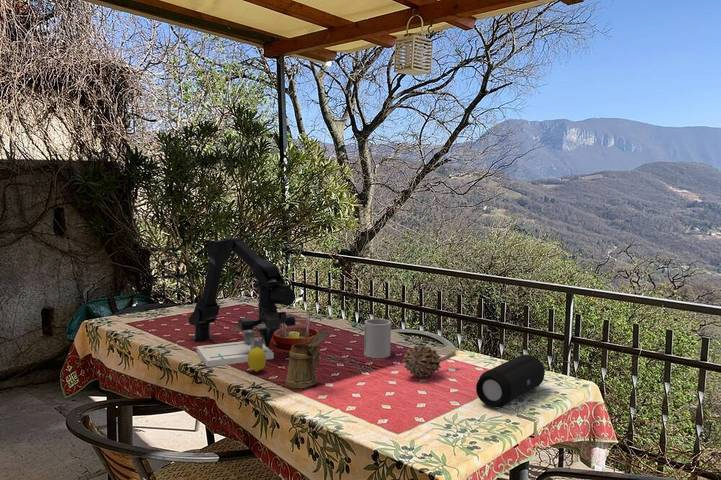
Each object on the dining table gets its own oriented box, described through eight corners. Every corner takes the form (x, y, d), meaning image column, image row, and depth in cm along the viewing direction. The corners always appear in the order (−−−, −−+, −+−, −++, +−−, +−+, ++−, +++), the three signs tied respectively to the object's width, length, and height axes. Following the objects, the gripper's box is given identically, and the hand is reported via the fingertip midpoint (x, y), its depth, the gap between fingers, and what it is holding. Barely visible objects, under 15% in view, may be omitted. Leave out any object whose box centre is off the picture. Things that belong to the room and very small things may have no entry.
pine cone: (419, 386, 155) (420, 353, 155) (395, 377, 162) (396, 345, 162) (464, 370, 170) (465, 340, 169) (441, 363, 177) (441, 334, 176)
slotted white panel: (196, 352, 185) (196, 346, 185) (258, 345, 195) (258, 339, 195) (207, 367, 169) (207, 360, 169) (273, 358, 179) (273, 352, 179)
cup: (395, 355, 185) (396, 321, 184) (378, 361, 178) (379, 326, 177) (375, 350, 191) (376, 317, 190) (358, 355, 185) (359, 321, 184)
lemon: (261, 375, 162) (261, 350, 161) (244, 374, 163) (244, 348, 162) (268, 370, 167) (268, 345, 167) (252, 368, 168) (252, 343, 168)
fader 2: (250, 350, 180) (250, 338, 180) (259, 348, 182) (259, 337, 181) (253, 353, 177) (253, 341, 176) (262, 352, 178) (262, 340, 178)
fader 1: (243, 341, 191) (243, 329, 191) (251, 340, 192) (251, 329, 192) (246, 343, 188) (246, 332, 187) (254, 342, 189) (254, 331, 189)
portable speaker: (506, 415, 136) (507, 377, 135) (472, 404, 142) (473, 368, 142) (546, 389, 155) (548, 356, 154) (515, 381, 161) (516, 349, 160)
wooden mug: (314, 394, 147) (315, 331, 146) (279, 384, 155) (279, 323, 153) (334, 385, 154) (335, 325, 153) (299, 376, 162) (300, 318, 161)
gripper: (246, 308, 168) (246, 356, 169) (301, 304, 177) (301, 350, 178) (237, 302, 178) (237, 347, 179) (290, 298, 187) (289, 341, 188)
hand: (266, 346), depth 181 cm, fingers closed
